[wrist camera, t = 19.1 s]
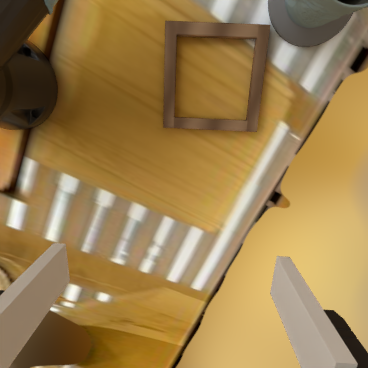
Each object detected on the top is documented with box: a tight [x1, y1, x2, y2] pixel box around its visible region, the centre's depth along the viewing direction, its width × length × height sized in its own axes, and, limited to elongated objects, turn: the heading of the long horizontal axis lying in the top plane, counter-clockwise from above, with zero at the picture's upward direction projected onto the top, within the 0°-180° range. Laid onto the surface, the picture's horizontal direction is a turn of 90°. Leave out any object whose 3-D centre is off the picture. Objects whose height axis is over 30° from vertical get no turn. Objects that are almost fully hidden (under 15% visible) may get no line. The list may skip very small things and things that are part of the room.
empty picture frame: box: [163, 21, 270, 132], centre depth 41 cm, size 16×16×1 cm
